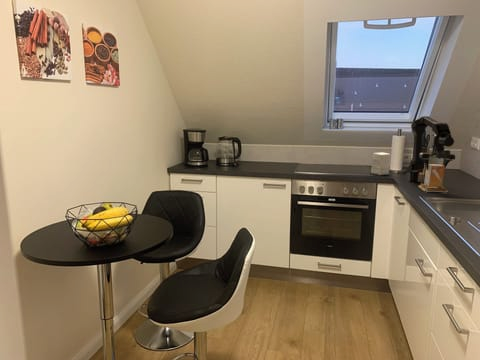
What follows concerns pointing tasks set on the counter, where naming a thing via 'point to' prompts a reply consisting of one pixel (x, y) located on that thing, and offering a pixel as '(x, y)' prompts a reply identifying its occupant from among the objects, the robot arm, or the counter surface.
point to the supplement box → (380, 163)
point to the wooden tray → (432, 188)
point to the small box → (434, 175)
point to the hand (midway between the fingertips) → (435, 170)
